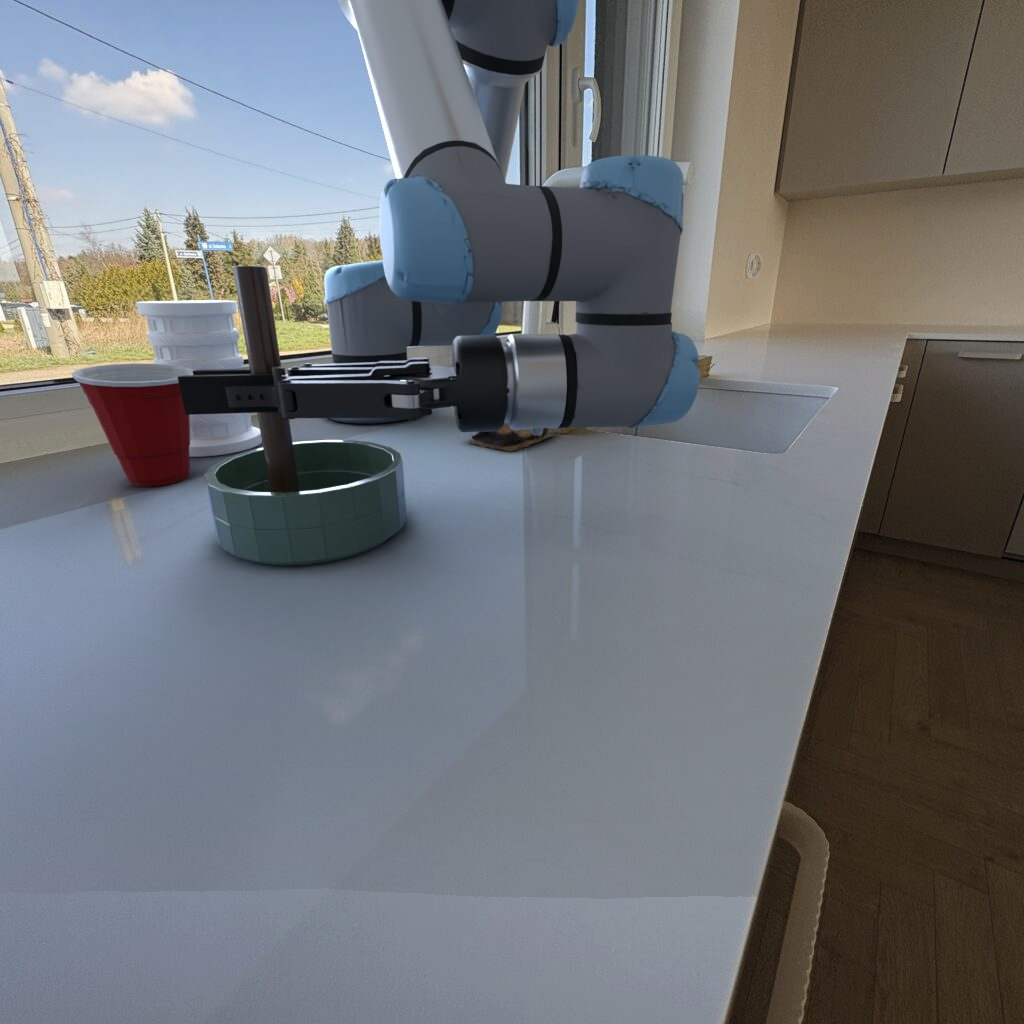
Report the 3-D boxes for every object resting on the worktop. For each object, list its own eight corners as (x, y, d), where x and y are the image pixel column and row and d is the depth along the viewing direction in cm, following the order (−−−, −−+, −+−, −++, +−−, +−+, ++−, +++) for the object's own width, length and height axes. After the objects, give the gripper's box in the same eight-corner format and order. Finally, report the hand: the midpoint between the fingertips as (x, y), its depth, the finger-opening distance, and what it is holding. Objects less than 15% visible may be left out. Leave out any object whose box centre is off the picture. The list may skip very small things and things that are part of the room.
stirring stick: (288, 513, 50) (249, 267, 43) (332, 520, 49) (300, 266, 41) (246, 534, 46) (195, 265, 39) (294, 543, 44) (250, 264, 37)
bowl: (305, 490, 59) (297, 434, 57) (437, 510, 54) (434, 449, 52) (175, 550, 46) (157, 480, 44) (334, 585, 41) (323, 507, 38)
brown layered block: (511, 428, 85) (511, 404, 84) (558, 437, 80) (559, 411, 79) (463, 442, 77) (462, 415, 76) (512, 453, 72) (512, 424, 71)
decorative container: (218, 431, 83) (192, 299, 76) (281, 438, 79) (260, 300, 72) (146, 451, 73) (108, 302, 66) (213, 460, 69) (181, 303, 62)
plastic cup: (167, 499, 57) (138, 377, 52) (77, 491, 59) (41, 374, 54) (237, 467, 67) (217, 362, 62) (157, 461, 69) (133, 360, 64)
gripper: (518, 455, 40) (159, 470, 37) (492, 410, 54) (231, 418, 51) (519, 344, 37) (130, 350, 34) (491, 328, 51) (214, 331, 48)
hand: (191, 391), depth 42 cm, fingers closed on stirring stick, 2 cm apart
